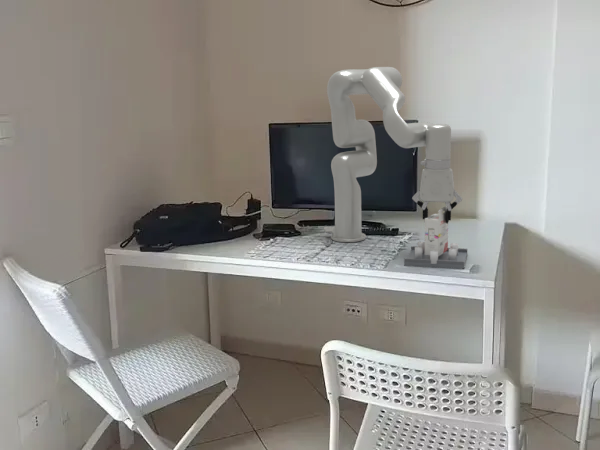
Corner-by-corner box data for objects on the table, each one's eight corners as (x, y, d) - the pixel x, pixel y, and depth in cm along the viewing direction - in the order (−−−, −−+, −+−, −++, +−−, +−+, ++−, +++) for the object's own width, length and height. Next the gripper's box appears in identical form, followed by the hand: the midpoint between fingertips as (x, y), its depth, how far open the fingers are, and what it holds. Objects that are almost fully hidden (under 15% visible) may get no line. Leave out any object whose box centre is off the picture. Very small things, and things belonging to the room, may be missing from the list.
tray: (404, 266, 204) (404, 251, 203) (411, 252, 220) (411, 238, 219) (463, 269, 199) (464, 254, 198) (467, 254, 214) (467, 240, 213)
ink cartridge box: (433, 248, 214) (434, 203, 210) (448, 250, 211) (449, 205, 208) (423, 254, 207) (424, 208, 203) (438, 256, 204) (439, 210, 201)
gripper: (407, 166, 202) (407, 223, 206) (465, 166, 197) (464, 225, 201) (411, 162, 209) (410, 218, 213) (467, 163, 204) (465, 220, 208)
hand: (436, 221), depth 207 cm, fingers closed on ink cartridge box, 5 cm apart
